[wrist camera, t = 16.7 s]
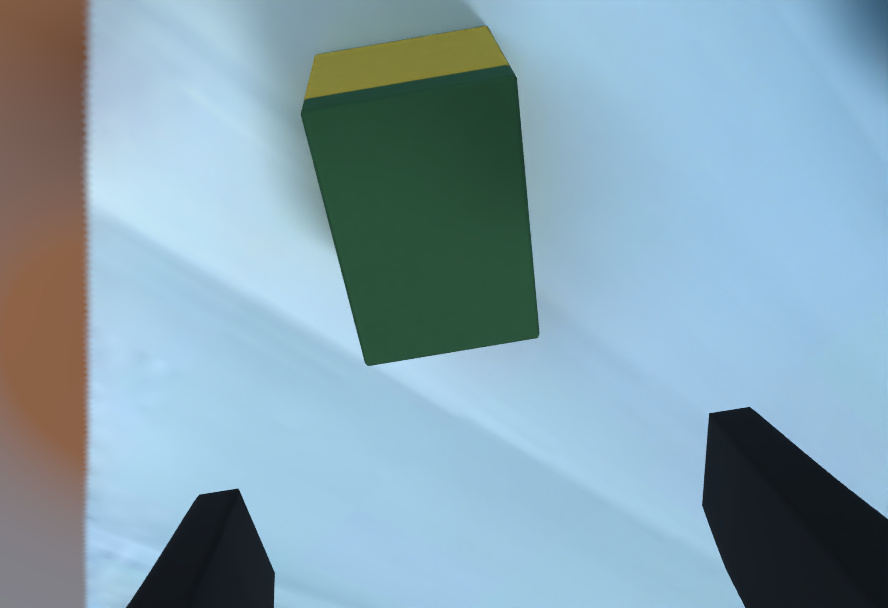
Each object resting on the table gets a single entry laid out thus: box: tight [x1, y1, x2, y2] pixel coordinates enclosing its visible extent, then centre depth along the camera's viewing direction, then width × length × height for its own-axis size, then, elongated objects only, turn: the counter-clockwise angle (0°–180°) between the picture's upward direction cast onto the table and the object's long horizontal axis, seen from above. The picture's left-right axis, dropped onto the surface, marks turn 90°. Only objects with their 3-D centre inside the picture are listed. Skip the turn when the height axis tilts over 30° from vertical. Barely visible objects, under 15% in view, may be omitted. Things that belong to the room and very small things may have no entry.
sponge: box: [301, 26, 539, 366], centre depth 17 cm, size 4×6×4 cm, turn 8°
